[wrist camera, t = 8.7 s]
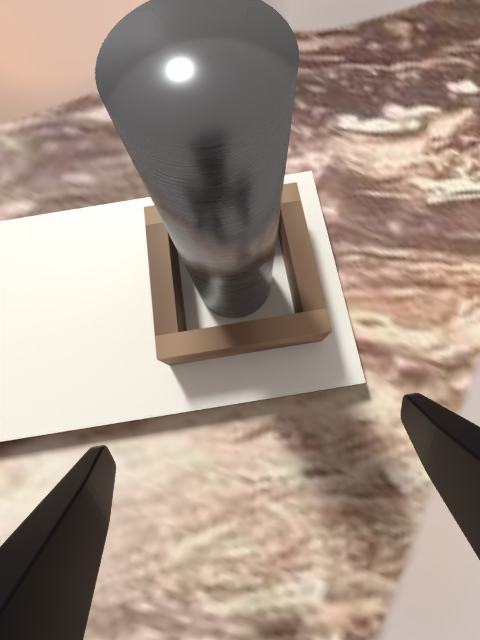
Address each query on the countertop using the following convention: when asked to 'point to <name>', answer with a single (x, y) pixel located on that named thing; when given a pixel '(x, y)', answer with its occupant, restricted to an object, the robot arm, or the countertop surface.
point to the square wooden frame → (243, 336)
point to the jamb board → (138, 326)
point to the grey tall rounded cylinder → (208, 132)
